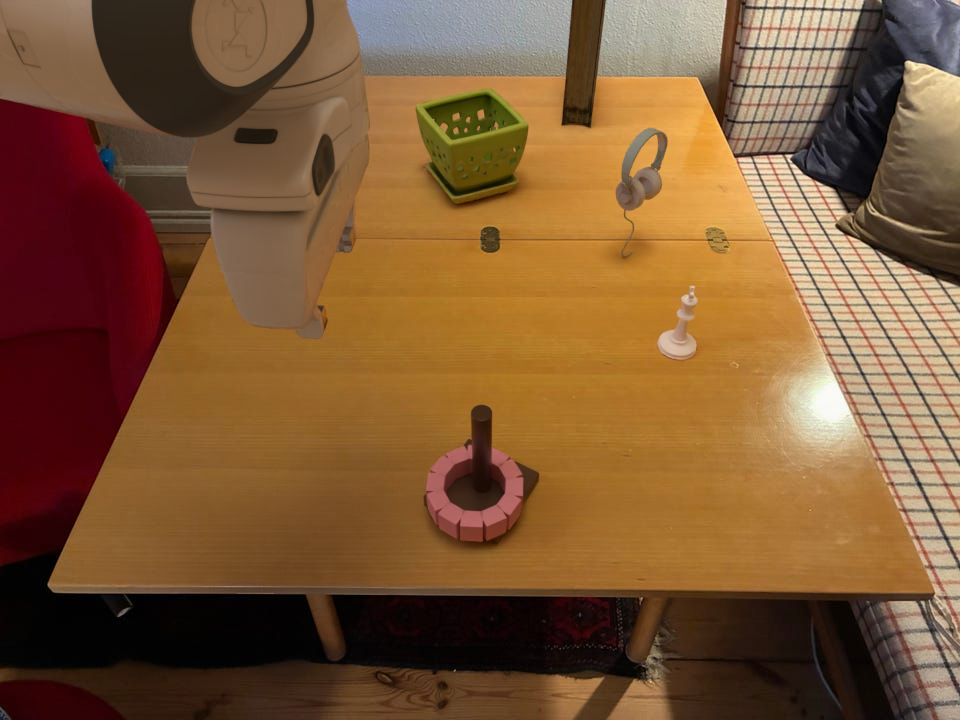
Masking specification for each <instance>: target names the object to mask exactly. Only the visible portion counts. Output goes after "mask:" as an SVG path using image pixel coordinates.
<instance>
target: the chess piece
mask: <svg viewBox="0 0 960 720" xmlns="http://www.w3.org/2000/svg"><path fill="white" fill-rule="evenodd" d="M695 290H696V285H690V286H689V292H688V293H687V294H684V295H682V296H681V298H680V303H681V308H679V309H677V312H676V317H678V319H679V320H678V323H677V325H676V327H675V329H669V330H666V331H664V332H662V333H661V334H660V335H659V337H658V340H657V344H656V345H657V349H658V350H659V352H660V353H661V354H662V355H664V356H665V357H667V358H669V359H673V360H678V361H684V360H688V359H691V358H692V357H694V355H695V354H696V352H697V341H696V339H695V338H694V337H693V336H692V335H691V334H690V333H688V324H689V322H690V321H692V320H694V319H695V312H694V311H693V310H694V308H696V306H697V305H698V304H699V299H698V297H697V296H695Z"/></svg>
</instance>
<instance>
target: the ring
mask: <svg viewBox="0 0 960 720" xmlns="http://www.w3.org/2000/svg"><path fill="white" fill-rule="evenodd" d="M510 457H511V456H510V455H509V454H507V453H505V452H502V451H501V450H499V449H497V448H496V447H493V446H492V478H493V479H494V480H496V481H498V482H499V484H500V486H501V487H502V489H503V491H504V492H505V494H504V495H503V497H502V498H501V499H500V501H499V502H498V503H497V505H495V506H492V507H490V508H488V509H485V510H483V511H465V510H463V509H461V508H459V507H458V506H456V505H454V504H453V503H451V502H450V501H449V499H448V497H447V495H446V490H447V489H448V488H449V487H450V485H451V484H452V483H453V482H454V481H455V479H458V478H460V477H462V476H465V475H467V474H472V445H468V450H467V449H466V448H465V446H463V445H462V446H459V447H457V448H455V449H451V450H449V451H447V452H445V455H444V454H441V456H440V457H439V458H438V459H437V460H436V462H435V463H434V464H433V465H432V466H431V467H430V468H429V472H428V473H427V479H426V486H425V494H426V497H427V505H428V506H427V510H428V512H429V514H430V516H431V518H432V520H433V522H434V524H435V525H436V526H438V529H439V530H441V531H442V532H444V533H445V534H447V535H449V536H450V537H452V538H454V539H456V540H458V538H459V537H460V541H464V542H465V541H466V542H483V541H484V539H485V540H486V541H487V542H488V541H490V539H492V538H495V537H497V536H499V535H501V534H503V535H504V534H506V533H507V530H511V528H512V527H513V526H514V525H515V523H516V522H517V520H518V518H519V517H520V516H521V513H522V512H521V511H523V505H522V503H523V481H524V478H522V473H521V471H520V470H519V468H518V466H517V465H516V463H515V462H514V461H515V460H514V459H513V458H510ZM509 458H510V460H509ZM506 528H507V530H506ZM483 535H484V537H485V538H484V537H483Z"/></svg>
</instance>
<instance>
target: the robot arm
mask: <svg viewBox="0 0 960 720" xmlns="http://www.w3.org/2000/svg"><path fill="white" fill-rule="evenodd" d="M348 7H349V6H348V1H347V0H0V100H2V101H10V102H14V103H19V104H22V105H27V106H32V107H35V108H40V109H44V110H49V111H53V112H58V113H61V114H66V115H70V116H75V117H79V118H84V119H88V120H90V121H95V122H99V123H104V124H109V125H113V126H117V127H121V128H124V129H125V128H126V129H130V130H135V131H140V132H143V133H149V134H155V135H160V136H164V137H165V136H166V137H167V136H168V137H180V138H189V139H190V138H192V139H193V138H195V141H194V144H193V149H192V152H191V155H190V158H189V161H188V165H187V168H186V175H185V176H186V177H185V178H186V179H185V180H186V184H187V188H188V191H189V194H190V196H191V198H192V200H193V203H194V204H195V205H197V206H198V207H204V208H211V211H210V223H209V224H210V225H209V226H210V235H211V239H212V245H213V248H214V252H215V255H216V257H217V261H218V264H219V267H220V270H221V272H222V274H223V277H224V280H225V283H226V286H227V288H228V291H229V294H230V296H231V299H232V300H233V303H234V306H235V308H236V310H237V312H238V314H239V316H240V317H241V318H242V320H243V321H244V322H245V323H247V324H249V325H251V326H254V327H256V328H261V329H272V330H295V332H296V335H297V336H298V337H299V338H302V339H309V340H310V339H311V340H321V339H322V338H323V337H324V334H325V332H326V328H327V324H328V321H329V320H328V317H327V311H326V306H325V305H323V304H322V305H320V304H318V300H319V298H320V295H321V293H322V289H323V287H324V284H325V282H326V278H327V276H328V273H329V271H330V268H331V265H332V262H333V260H334V257H335V255H336V253H341V252H343V253H345V254H349V253H351V252H352V251H353V249H354V246H355V244H356V242H357V232H356V225H355V220H356V200H357V195H358V193H359V190H360V188H361V184H362V182H363V179H364V176H365V173H366V171H367V168H368V167H369V161H370V139H369V138H370V137H369V131H370V127H371V121H370V120H371V119H370V113H369V104H368V97H367V96H368V95H367V89H366V81H365V73H364V66H363V57H362V52H361V51H362V50H361V44H360V39H359V33H358V32H357V29H356V27H355V25H354V23H353V20H352V18H351V14H350V11H349V8H348Z"/></svg>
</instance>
